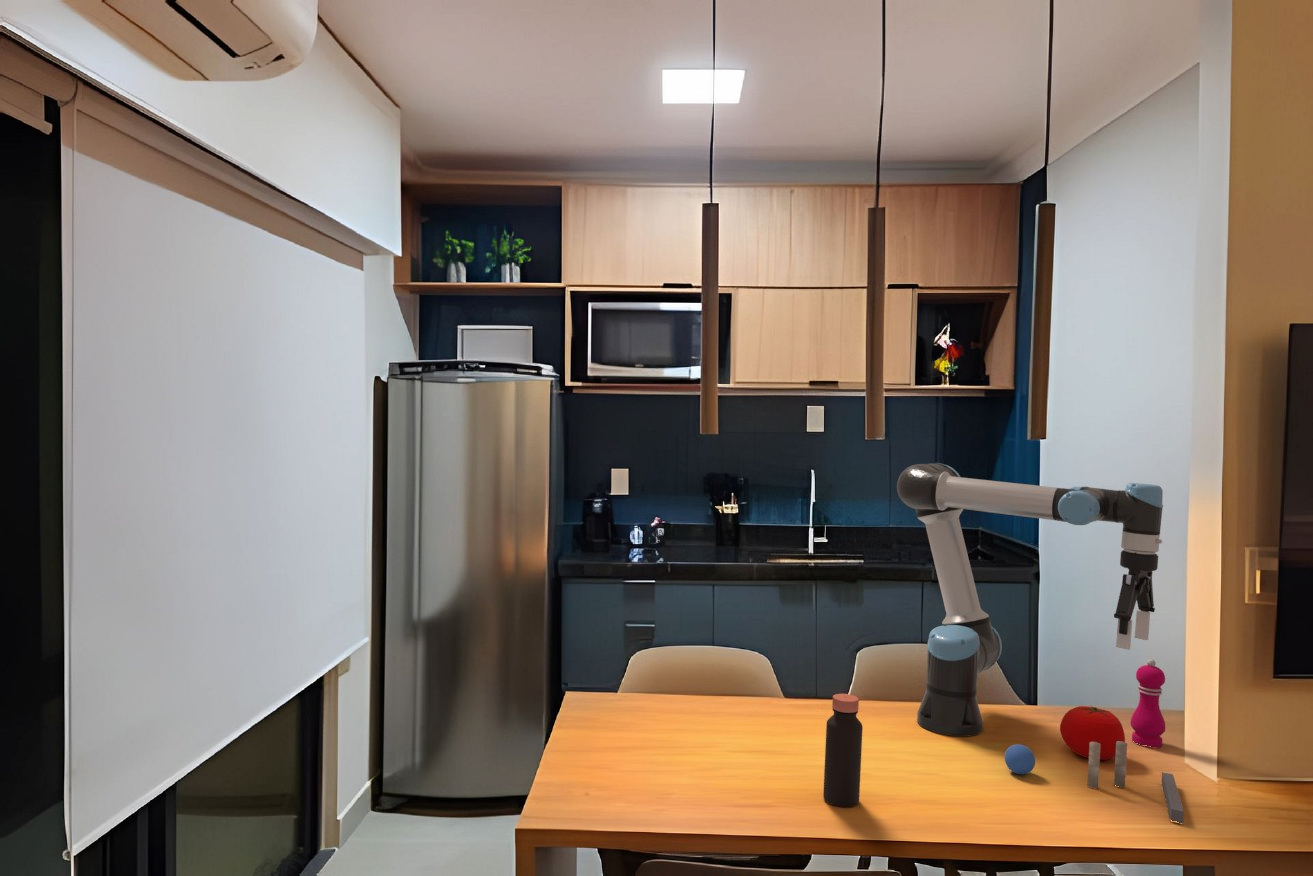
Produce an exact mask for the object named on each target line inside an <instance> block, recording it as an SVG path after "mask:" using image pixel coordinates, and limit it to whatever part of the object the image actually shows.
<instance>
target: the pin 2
mask: <svg viewBox="0 0 1313 876" xmlns="http://www.w3.org/2000/svg"><path fill="white" fill-rule="evenodd" d="M1127 752H1128V743H1127V742H1126V741H1125V742H1122V741H1117V742H1116V757H1114V758H1115V760H1114V778H1113V781H1114V782H1113V786H1114V785H1116V786H1119V787H1125V788H1126V777H1127V776H1126V775H1127V756H1128V753H1127ZM1116 786H1115V787H1116Z"/></svg>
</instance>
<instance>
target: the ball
mask: <svg viewBox="0 0 1313 876" xmlns="http://www.w3.org/2000/svg"><path fill="white" fill-rule="evenodd" d="M1004 763H1005V765H1006V767H1007V768H1008V769H1009V771H1011V772H1012V773H1014V774H1017V775H1023V776H1024V775H1027V774H1030V773H1031V772H1032V771H1033V770H1034V768H1035V766H1036V758H1035V754H1034V752H1033V751H1032V750H1031V748H1029V747H1028V746H1026V745H1023V744H1012V745H1010V746H1009V747H1008V748H1007V749H1006V751H1005V754H1004Z"/></svg>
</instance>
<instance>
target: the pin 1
mask: <svg viewBox="0 0 1313 876" xmlns="http://www.w3.org/2000/svg"><path fill="white" fill-rule="evenodd" d="M1100 745H1101V744H1100V743H1097V742H1090V746H1089V758H1088V763H1087V764H1088V765H1087V766H1088V767H1087V768H1088V769H1087V784H1086V785H1088V786H1089V787H1091V788H1090V789H1092V788H1098V789H1099V783H1100V782H1099V780H1100V779H1099V778H1100V762H1101V760H1100ZM1088 786H1087V787H1088ZM1089 787H1088V788H1089Z"/></svg>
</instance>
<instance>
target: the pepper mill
mask: <svg viewBox="0 0 1313 876" xmlns="http://www.w3.org/2000/svg"><path fill="white" fill-rule="evenodd" d="M1156 665H1157V664H1156V661H1155V660H1154V659H1152V658H1150V659H1149V658H1148V659H1147V662H1146V664H1145V665H1141V666H1139V668H1138V669H1137V670H1136V672H1135V677H1136V680H1137V682H1138V683H1139V684H1137V691H1138V693H1139V700H1138V701H1139V702H1138V705H1137V707H1136V708H1135V709H1134V711H1133V713H1132V714H1131V718H1130V726H1131V728H1132V729H1133V731H1134V732H1132V735H1131V741H1132V742H1133V741H1134V742H1135V743H1138V744H1140V745H1147V746H1151V747H1160V748H1162V747H1163V738H1162V735H1163V734H1164V733H1165V732H1166V721H1165V718H1164V716H1163V714H1162V711H1161V709H1160V696H1161V695H1162V694H1163V688H1162V686H1163V685H1164V684H1165V682H1166V675H1165V673H1164V671H1163V669H1161V668H1159V667H1158V666H1156ZM1134 742H1133V743H1134ZM1135 743H1134V744H1135ZM1138 744H1137V745H1138ZM1140 745H1139V746H1140ZM1161 746H1162V747H1161Z"/></svg>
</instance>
